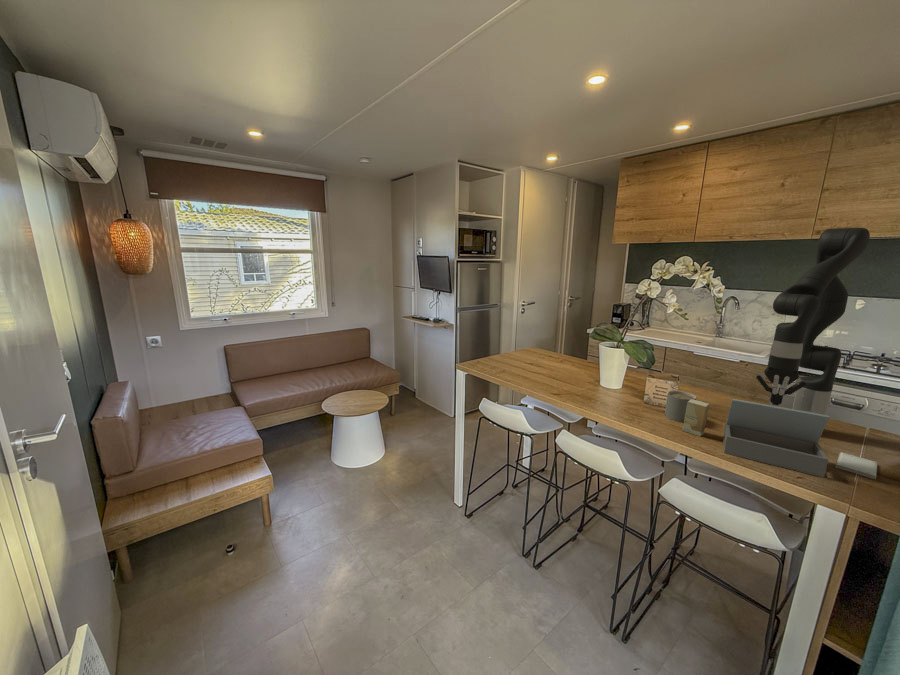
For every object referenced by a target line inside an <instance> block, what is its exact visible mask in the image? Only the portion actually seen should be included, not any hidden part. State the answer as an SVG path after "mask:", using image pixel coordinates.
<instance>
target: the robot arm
mask: <svg viewBox="0 0 900 675" xmlns="http://www.w3.org/2000/svg"><path fill="white" fill-rule="evenodd" d="M869 242H870V231H869V230H868V228H866V227H840V228H839V227H837V228H836V227H835V228H826V229H825V230H823V231H822V232H821V234H820V236H819V237H818V241H817V246H816V249H817V250H816V257H815V258H816V260H815V265H813V266H811V267H809V268H808V269H807V270H805V271H804V272H803V273H802V275H801V276H800V277H799V279H798V280H797V281H796V283H794V284H793V285H791V286H790V287H788V288H787V289H785V290H784V291H783V290H782V292H780V293H779V294H778V295H777V296H776V298H774V301H773V303H772V309H773V311H774V313H776V314H778V315H781V316H789V317H791V316H792V317H797V318H796V320H794V321H793V322H792V321H791V322H781V323H778V324H777V325H776V328H775V332H774V337H773V341H772V344H771V347H770V350H769V351H770V352H769V357H768V362H767V367H766V368H765V369H764V372H762V373H757V374H755V377H756V380H758V383H760V385H761V386H762V387H763V388H764V390H765V392H769V393H770V397H769V402H770V403H771V404H772V406H779V405H781V404H782V403H783V398H784V396H785V395H792V394H794V393H795V395H794V399H793V405H792V408H791V409H795V410H800V411H806V412H812V413H817V414H823V415H828V414H827V413H828V409H829V405H830V400H831V396H832V393H833V389H834V388H833V387H834V382H835V379H836V374H837V372H838V368H839V366H840V363H841V359H842V351H841V349H839V348H838V347H833V346H832V347H831V346H823V345H816V344H814V342H815V340H816V339H817V338H818V337H819V336H820V334H821V333H823V332H824V331H825V330H827V328H829V327H830V326H832V325H833V324H834V323H835V322H838V320H839V319H841V317H842V316H843V315H844V314H845V312H846V307H847V303H848V299H849V293H848V290H847V288H846V287H845V285H844V283H843V282H842V280H841V279H840V278H839V277H838V275H839V274H840V273H841V272H842V271H843V270H844V269H846V268H847V267H848V266H850V264H852V263H853V262H854V261H855V260H856V259H857V258H858V257H860V256H861V255H862V254H863V252H865V250H866V249H867V247H868V245H869ZM799 368H801V369H806V370H807V369H808V370H812V371H819V372H823V373H821V374H818V375H814V376H813V375H812V376H802V377H800V375H799ZM766 378H767V380H769V382H770V383H771V387H770V386H769V384H767V382H766ZM792 383H794V384H792ZM790 385H791V386H790ZM788 386H790V387H788ZM787 387H788V388H787Z"/></svg>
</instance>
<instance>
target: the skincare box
mask: <svg viewBox="0 0 900 675" xmlns="http://www.w3.org/2000/svg"><path fill="white" fill-rule="evenodd" d="M710 405H711V404H710V403H709V402H704V401H702V400H697V399H696V400H693V399H690V400H689V401H688V403H687V408H686V413H685V419H684V423H683V424H682V430H681V431H683V432H685V433H688V434H691V435H695V436H698V437H702V436H703V435H704V434H705V429H706V424H707V420H708V415H709V410H710Z"/></svg>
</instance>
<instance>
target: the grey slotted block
mask: <svg viewBox="0 0 900 675" xmlns="http://www.w3.org/2000/svg"><path fill="white" fill-rule="evenodd" d="M722 437H723V438H722V442H723V443H722V444H723V453H724V454H726V455H731V456H735V457H739V458H743V459H747V460H751V461H755V462H758V463H763V464H768V465H771V466H775V467H779V468H784V469H787V470H792V471H794V472H801V473H804V474H808V475H813V476H816V477H819V478H825V475H826V472H827V467H828V462H829V458H828V456H827V454H826V453H825V451H824V450H823V448H822V446H821V445H820V443H819V442H818V443H815V442H810V441H805V440H800V439H796V438H791V437H786V436H781V435H777V434H772V433H767V432H762V431H757V430H753V429H748V428H743V427H738V426H733V425H729V424H726V423H725V426H724V431H723V436H722Z"/></svg>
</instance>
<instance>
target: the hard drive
mask: <svg viewBox="0 0 900 675" xmlns="http://www.w3.org/2000/svg"><path fill="white" fill-rule="evenodd" d="M835 468H836V469H839V470H843V471H845V472H850V473H853V474H857V475H859V476H864V477H866V478H870V479H872V480H876V478H877V472H878V462H877V461H875V460H870V459H867V458H863V457H860V456H857V455H853V454H850V453H845V452H842V451H841V452H839V455H838V457H837V462H836V464H835Z"/></svg>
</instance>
